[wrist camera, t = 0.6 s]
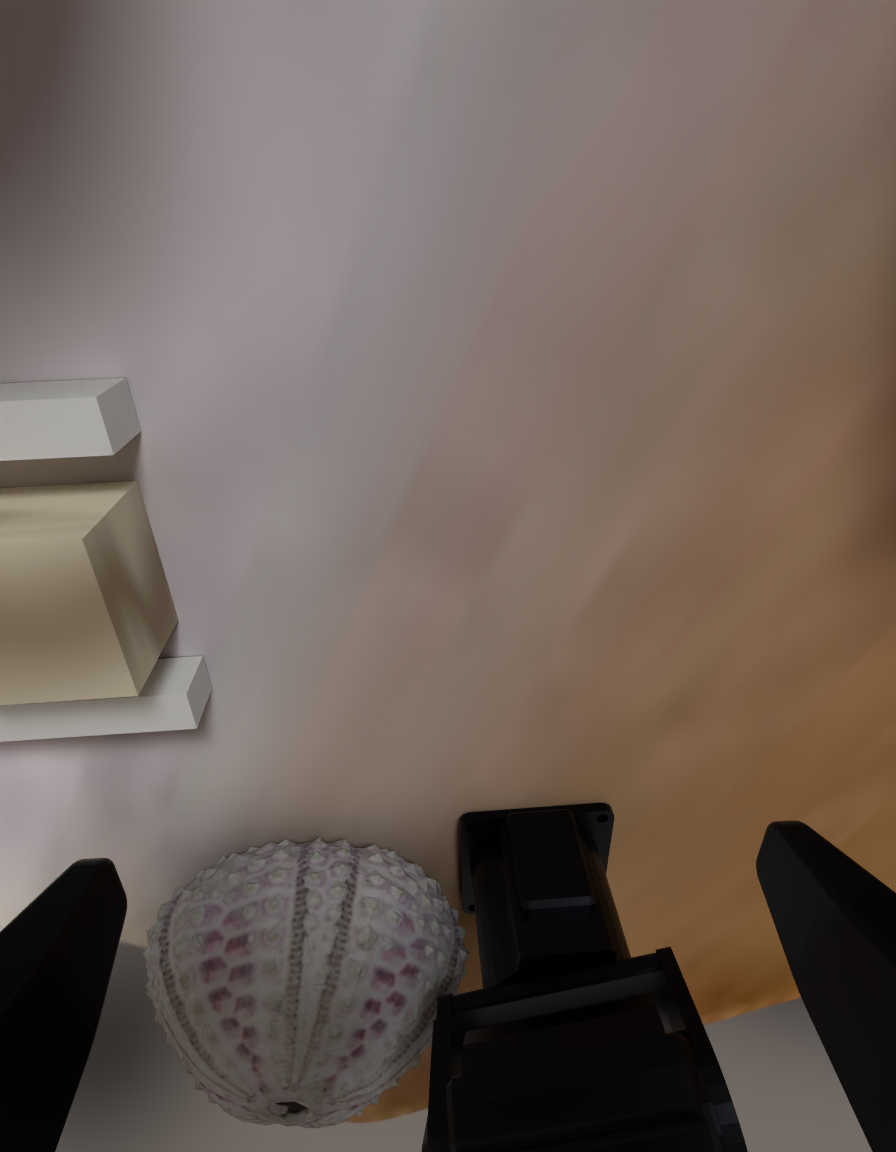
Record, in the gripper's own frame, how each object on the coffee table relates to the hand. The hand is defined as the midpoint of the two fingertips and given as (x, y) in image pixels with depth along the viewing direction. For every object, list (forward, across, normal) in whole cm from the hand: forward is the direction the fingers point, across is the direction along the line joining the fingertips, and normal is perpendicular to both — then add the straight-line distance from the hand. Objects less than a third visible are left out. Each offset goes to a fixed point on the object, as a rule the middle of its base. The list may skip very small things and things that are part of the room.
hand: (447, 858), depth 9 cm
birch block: (+13, +11, +2) cm, 17 cm away
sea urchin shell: (+14, +6, +20) cm, 25 cm away
